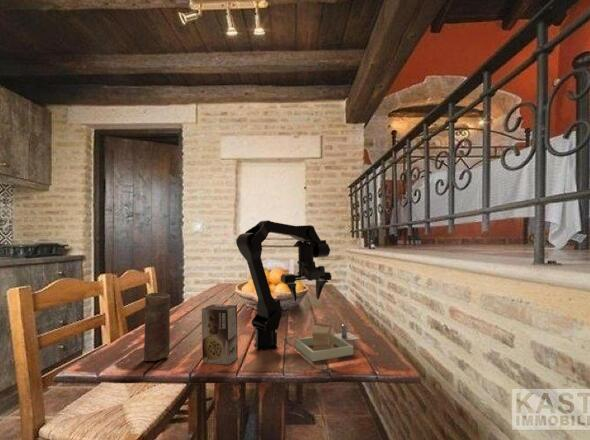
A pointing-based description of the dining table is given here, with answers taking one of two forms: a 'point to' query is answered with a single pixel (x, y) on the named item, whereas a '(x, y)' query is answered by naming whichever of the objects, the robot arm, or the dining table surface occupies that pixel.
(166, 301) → the candle
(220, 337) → the coffee box
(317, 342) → the tan rectangular block
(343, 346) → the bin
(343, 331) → the stud block
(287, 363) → the dining table surface
